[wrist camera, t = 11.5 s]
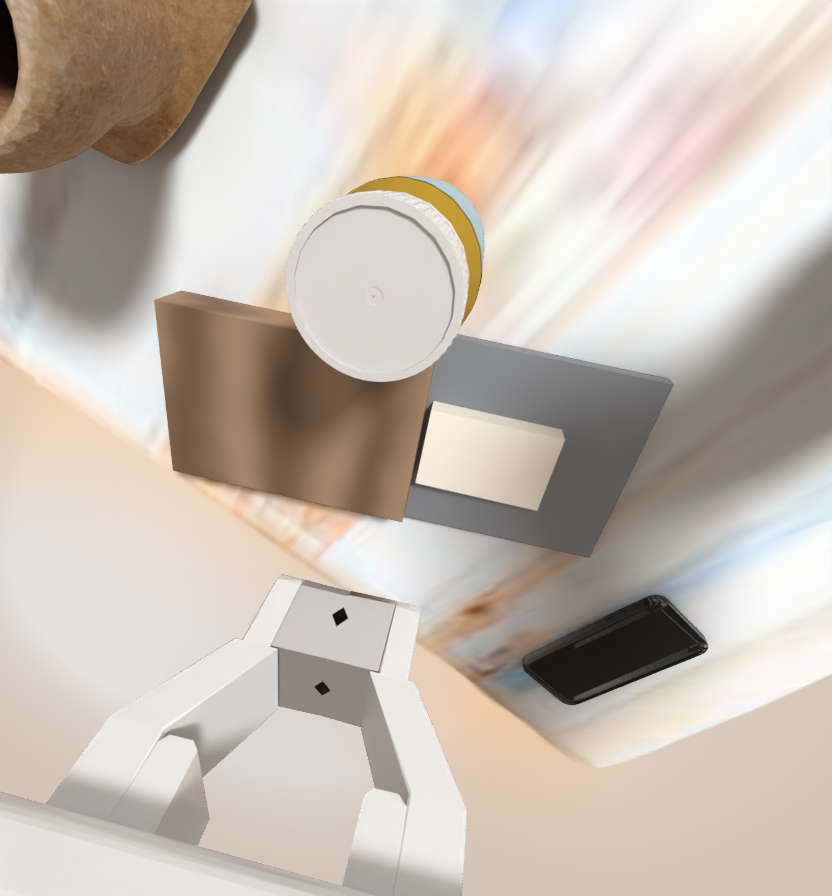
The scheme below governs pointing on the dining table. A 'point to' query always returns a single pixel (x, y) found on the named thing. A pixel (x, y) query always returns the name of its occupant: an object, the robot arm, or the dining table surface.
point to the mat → (554, 405)
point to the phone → (616, 651)
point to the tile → (488, 455)
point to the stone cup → (103, 74)
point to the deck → (283, 409)
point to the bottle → (386, 276)
